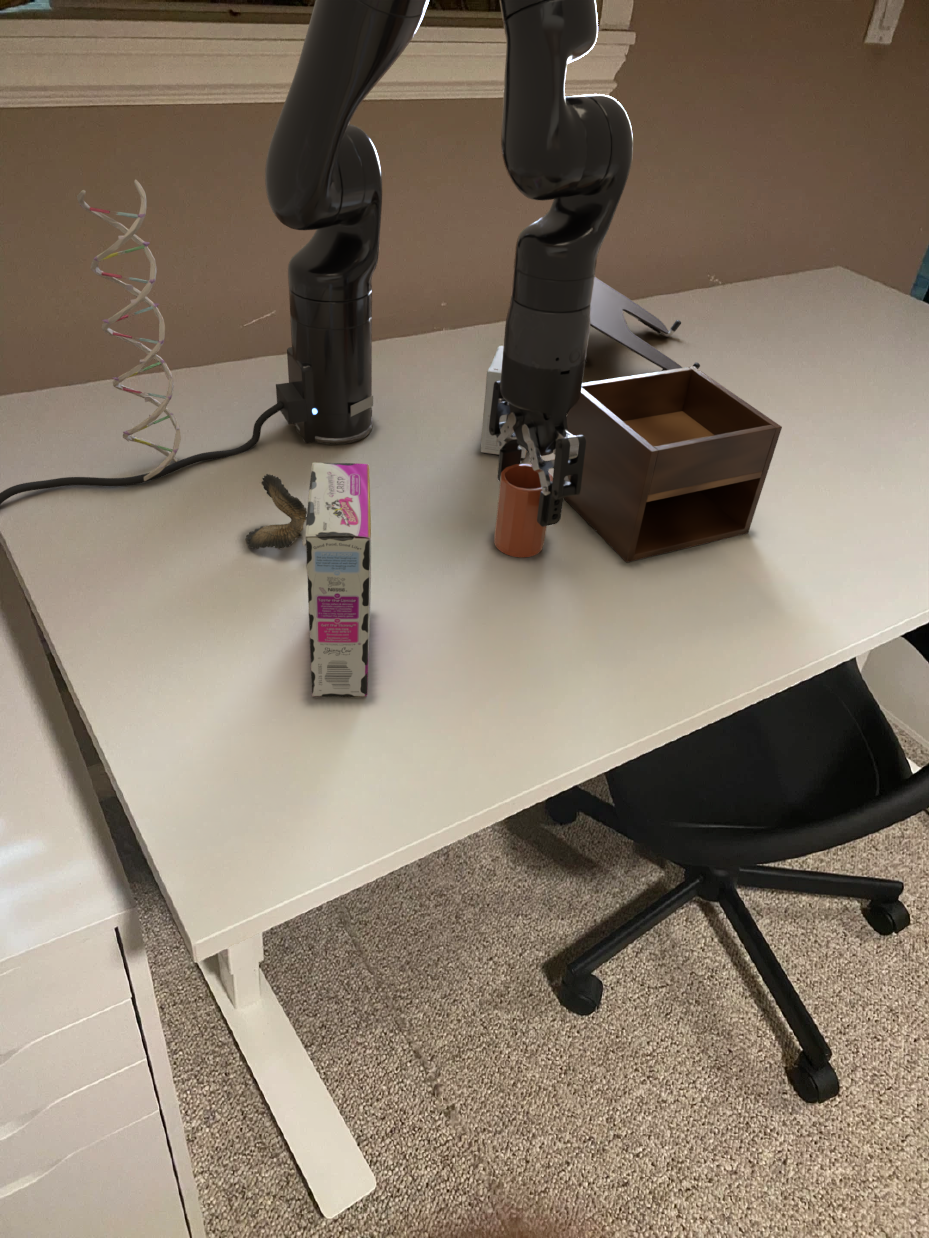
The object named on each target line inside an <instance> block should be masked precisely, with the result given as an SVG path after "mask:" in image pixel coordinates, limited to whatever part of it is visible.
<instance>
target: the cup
mask: <svg viewBox="0 0 929 1238" xmlns="http://www.w3.org/2000/svg"><path fill="white" fill-rule="evenodd" d="M549 477H550V481H553V475H552V473H550V472H549ZM540 491H542V489H541V484H540V479H539V474H538V473H537V472H535V471H534V470H533V468H532V464H530V463H520V464H515V465H512V466H509V467H506V468H505V469H504V470H503V471H502V472H501V477H500V481H499V487H498V496H497V505H496V515H495V526H494V537H493V542H494V546H495V547H496V549H497V550H498V551H500V552H501V553H503V554H504V555H506V556H510V557H514V558H530V557H534V556H536V555H538V554H540V553H541V552H542V551H543V548H544V544H545V540H546V535H547V527H548V526H545V527H542V526H541V525H540V524H539V523H538V522H537V515H538V507H539V499H540Z"/></svg>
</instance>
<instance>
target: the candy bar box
mask: <svg viewBox="0 0 929 1238" xmlns="http://www.w3.org/2000/svg"><path fill="white" fill-rule="evenodd" d="M310 471H311V472H310V479H309V489H308V500H307V507H306V511H307V514H306V517H307V519H306V534H305V537H306V545H305V547H306V574H307V575H306V576H307V596H308V597H307V598H308V599H307V603H308V629H309V630H308V631H309V653H310V655H309V656H310V679H311V682H310V683H311V693H310V694H311V695H310V696H311V697H312V698H351V699H353V698H366V697H367V696H368V690H369V689H368V688H369V687H368V686H369V667H370V666H369V665H370V635H371V634H370V633H371V600H372V599H371V598H372V597H371V596H372V595H371V593H372V591H371V589H372V517H371V516H372V515H371V512H372V511H371V485H370V484H371V483H370V481H371V479H370V464H369V463H357V462H356V463H354V462H312V463H311V469H310Z"/></svg>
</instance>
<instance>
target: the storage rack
mask: <svg viewBox="0 0 929 1238" xmlns="http://www.w3.org/2000/svg"><path fill="white" fill-rule="evenodd" d="M567 427H568V432H569V433H570V434H572V435H573V436H577V435H584V437H585V439H586V448H585V457H584V465H583V474H582V483H581V491H580V494H579V495H573V496H568V497H564V499H563V500H565V502H566V503H568V504H569V505H570V507H572V508H573V510H574V511H576V512H577V514H578V515H579V516H580V517H581V518H582V519H583V520H584V521H585V522H586V523H588V525H589V526H590V527H591V528H592V529H593V530H594V531H595V532H596V533H597V534H598V535H599V536H600V537H601V538H602V539H603V540H604V541H605V542H606V543H607V545H609V546H610V547H611V549H612V550H614V551H615V552H616V553H617V555H619V556H620V557H621V558H622V559H623V560H624V562H625V563H632V562H635V561H639V560H643V559H646V558H652V557H656V556H660V555H663V554H667V553H672V552H676V551H680V550H684V549H689V548H693V547H697V546H701V545H705V544H709V543H714V542H717V541H721V540H726V539H730V538H734V537H738V536H742V535H746V534H749V532H750V528H751V527H752V526H751V525H752V523H753V519H754V517H755V513H756V510H757V507H758V503H759V501H760V497H761V495H762V491H763V489H764V485H765V482H766V479H767V475H768V472H769V469H770V466H771V463H772V460H773V458H774V454H775V450H776V447H777V445H778V441H779V438H780V435H781V432H782V429H783V426H782V425H780V424H778V423H777V422H776V421H774V420H773V419H771V418H770V417H769V416H767V415H765V414H764V413H763V412H761V411H760V410H758V409H757V408H755V407H754V406H752V405H751V404H750V403H748V402H747V401H745V400H744V399H742V398H741V397H740V396H739V395H736V394H735V393H734V392H732V390H731V391H730V389H728V388H726V386H723V385H722V384H720V383H719V382H718V381H717V380H715V379H714V378H712V377H710V376H709V375H707V374H706V373H704V372H703V371H702V370H700V368H698V369H697V368H696V367H694V366H693V365H692V366H688V367H687V366H686V367H682V368H679V369H672V370H666V371H662V370H659V371H653V372H647V373H646V372H645V373H640V374H634V375H627V376H619V377H614V378H608V379H607V378H606V379H601V380H593V381H588V382H582V388H581V395H580V399H579V401H578V402H577V403H576V404H575V405H574V406H573V407H572V408H571V409H570V410H569V412H568V413H567ZM568 478H569V482H570V479H571V475H569V476H568Z"/></svg>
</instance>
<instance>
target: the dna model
mask: <svg viewBox="0 0 929 1238" xmlns="http://www.w3.org/2000/svg"><path fill="white" fill-rule="evenodd" d="M133 184H134V186H135V188H136V190H137V192H138V193H137V194H138V195H139V197H140V203H141V204H140V208H139V213H138V214H136V213H129V212H124V211H123V212H121V211H117V212H115V215H116V216H121V217H125V218H126V217H127V218H132V219H135V220H134V222H133V223H132V224H131V226H130V227H129V228H127V226H125V225H124V224H123V223H122V222H120V221H117V220H115V219H114V218H113V217H110V216H108V215H106V214H112V215H113V212H114V211H113V210H108V209H102V208H97V207H96V208H95V207H91V206H90V205H89V204H88V203H87V202H86V201H85V196H86V192H87V191H86V190H85V189H83V190H81V191H80V192H79V193H78V194H77V196H76V199H77V203H78V204H79V206H80V207H81V208H82V210H84V211H85V212H88V213H90V214H91V215H93V216H95V217H97V218H99V219H100V220H102V221H104V222H105V223H107V224H109V225H110V226H112V227H114V228H116V229H117V230H118V231H120V232H121V233H123V234H124V235H118V236H117V237H118V238H117V240H116V241H115V242H114V243H113V244H111V245H110V246H109V247H107V248H106V249H105V250H104V251H102V252H101V253H99V254H98V255H96V256H94V257H93V259H92V262H91V263H90V267H89V269H90V270H91V271H92V272H93V273H94V274H95V275H96V276H99V277H101V278H103V279H105V280H108V281H110V282H112V283H114V284H117V285H119V286H120V287H121V288H123V289H124V290H125V291H127V292H128V293H130V294H132V295H133V296H134V297H136V298H133V299H130V303H129V304H128V305H126V306H125V307H123V308H122V309H120V310H119V311H118V312H116V313H115V314H114V315H112V316H110V317H109V318H105V319H101V321H102V322H103V323H102V324H101V330H102V331H103V332H104V333H105V334H107V335H108V336H110V337H112V338H115V339H119V340H121V341H124V342H125V343H128V344H129V345H132V346H133V347H135V348H138V349H139V350H141V351H142V352H144V353H145V354H146V355H145V357H144V358H142V359H139V363H138V364H137V365H136V366H134V367H132V368H131V369H130V370H128V371H125V372H124V373H123V374H121V375H119V376H117V377H111V379H112V386H113V388H115V389H117V390H119V391H123V392H127V393H129V394H131V395H134V396H137V397H140V398H142V399H144V402H145V403H147V402H150V403H151V404H152V405H154V406H156V409H155V410H154V411H153V412H152V413H151V414H148V417H147V418H145V419H144V420H143V421H141V422H140V423H138V424H137V425H135V426H134V427H132V428H130V429H127V430H124V431H122V438H123V439H124V440H125V441H126V442H134V443H137V444H142V445H145V446H148V447H150V448H152V449H154V450H156V451H158V453H160V454H162V455H164V456H166V457H165V459H164V460H163V461H162V462H161V463H160V464H158V466H157V467H155V468H154V469H153V470H151V471H150V472H148V473H149V474H147V475H146V476H144V481H146V480H148V479H150V478H151V477H153V476H155V475H156V474H158V473H160V472H161V471H162V470H163V469H164V468H165V467H166V466H168V465H170V464H171V462H172V461H173V463H175V462H177V461H179V459H178V458H176V457H175V456H177V455H176V454H177V453H178V451H179V448H180V444H181V440H182V436H181V428H180V427H181V426H180V425H179V422H178V420H177V418H176V415H174V413H173V412H172V411H171V410H170V409H169V408H168V407H167V406H168V405H169V403H170V401H171V400H172V397H173V394H174V388H175V384H174V378H173V374H172V371H171V370H170V368H169V365H168V364H167V362H166V361H165V360H164V359H163V358H162V357H161V356H160V355H158V352H159V351H160V350H161V348H162V347H163V344H164V343H165V336H166V335H165V334H166V324H165V319H164V318H163V317H164V316H163V315H162V313H161V312H160V309H159V308H158V306H159V305H160V303H158V302H153V300H151V299H150V298H149V297H148V295H149V294H150V293H151V292H152V291H151V290H152V289H153V287H154V285H155V283H156V280H157V274H158V268H157V263H156V259H155V257H154V255H153V253H152V251H151V249H150V248H149V245H150V244H151V242H149V241H144V240H143V239H142V238H140V236H139V235H137V232H138V231H139V230H140V229H141V226H142V224H143V222H144V220H145V217H146V215H147V203H148V202H147V195H146V191H145V189H144V188H143V186H142V184H141V183H140V182H139V180H137V179H134V181H133ZM111 212H112V213H111ZM130 240H132V241H133V242H134V243H135V244H137V245H138V246H135V247H132V248H129V249H125V250H121V251H117V250H118V249H119V248H121V247H123V245H125V244H126V243H128V241H130ZM139 250H143V252H144V254H145V257H146V258H147V259H148V261H149V264H150V268H149V279H147V280H146V279H141V278H137V277H132V276H127V277H125V276H123V275H122V274H117V273H116V274H115V273H112V272H105V271H103V270H102V269H100V267H99V263H100V262H101V261H104V260H108V259H111V258H114V257H117V256H120V255H121V256H122V255H124V254H129V253H132V252H136V251H139ZM116 251H117V252H116ZM124 277H125V278H124ZM120 279H124V280H129V281H131V282H137V283H142V284H145V286H144V287H143V288H142V290H140V289H138V288H136V287H134V284H131V283H125V282H124V281H122V280H120ZM141 302H143V303H145V304H146V305H147V306H148V307H145V308H142V309H140V310H137V311H134V312H133V315H131V317H133V316H136V315H139V314H143V313H146V312H149V311H152V312H153V313H154V315H155V316H156V318H157V320H158V324H159V326H158V328H159V331H158V340H156V339H150V338H144V337H139V338H138V337H136V336H135V338H133V336H132V335H129V334H123V333H120V332H118V331H115V330H113V329H111V328H110V326H111V325H113V324H114V323H116V322H119V321H122V320H125V319H128V318H129V317H130V315H129V313H130V312H131V311H133V310H134V309H135V308H137V307H138V306H139V305H140V304H141ZM140 341H141V342H140ZM142 342H145V343H149V344H154V345H155V346H154V347H152V349H151V348H149V347H148V346H146V345H145V344H144V343H142ZM153 360H154V361H156V362H155V363H153V364H151V365H148V364H150V363H152V361H153ZM147 365H148V366H147ZM158 366H160V367H161V368H162V370H163V371H162V372H164V375H165V376H166V378H167V380H168V385H167V390H166V394H165V395H163V394H157V393H152V392H145V391H141V390H137V389H134V388H131V387H129V386H126V385H124V384H121V383H122V382H124V381H125V380H126V379H128V378H131V377H134V376H137V375H138V374H141V373H143V372H146V371H148V370H150V369H153V368H156V367H158ZM157 398H159V399H164V400H163V401H162V402H160V400H158V399H157ZM163 413H164V414H166V416H163V417H161V418H159V417H160V416H161V414H163ZM158 418H159V419H158ZM169 419H170V421H171V424H172V426H173V428H174V430H175V436H174V441H173V445H172V448H169V447H165V446H161V445H160V444H157V443H154V442H153V441H151V440H148V439H145V438H141V437H136V435H134V434H135V433H138V432H140V431H142V430H145V429H148V428H149V427H152V426H153V425H156V424H159V423H160V422H164V421H166V420H169Z"/></svg>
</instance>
